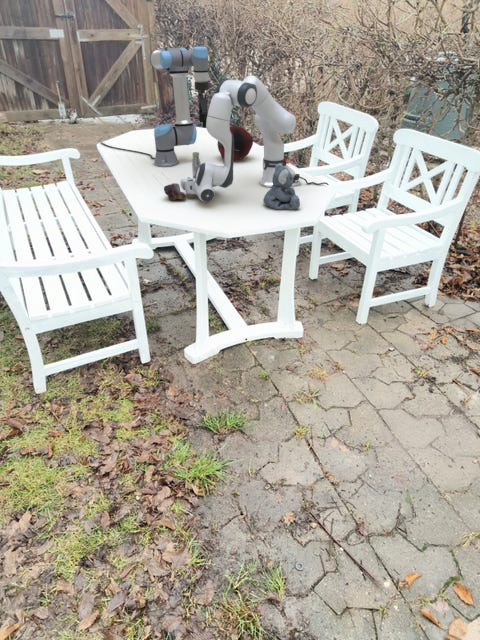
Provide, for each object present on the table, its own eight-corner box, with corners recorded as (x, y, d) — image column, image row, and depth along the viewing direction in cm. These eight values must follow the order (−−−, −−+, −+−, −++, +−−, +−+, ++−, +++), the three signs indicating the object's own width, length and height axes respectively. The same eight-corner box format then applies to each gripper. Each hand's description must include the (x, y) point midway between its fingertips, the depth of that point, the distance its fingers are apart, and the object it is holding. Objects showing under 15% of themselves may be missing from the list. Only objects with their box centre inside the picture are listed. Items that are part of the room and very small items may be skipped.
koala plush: (301, 210, 223) (303, 170, 212) (265, 211, 222) (266, 171, 211) (294, 198, 237) (297, 160, 226) (261, 199, 236) (261, 161, 225)
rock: (179, 196, 245) (162, 199, 241) (177, 180, 241) (160, 182, 237) (187, 199, 235) (169, 202, 231) (185, 182, 232) (167, 185, 228)
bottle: (203, 190, 249) (201, 153, 238) (196, 192, 247) (194, 154, 236) (199, 188, 253) (197, 151, 241) (192, 190, 250) (189, 152, 239)
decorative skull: (214, 132, 306) (214, 129, 283) (248, 124, 306) (250, 120, 282) (221, 164, 313) (221, 164, 290) (254, 156, 312) (257, 156, 289)
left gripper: (191, 78, 244) (194, 120, 256) (197, 84, 224) (199, 130, 236) (205, 77, 245) (207, 119, 257) (212, 84, 225) (213, 129, 237)
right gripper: (220, 178, 236) (215, 170, 247) (182, 181, 232) (178, 174, 243) (221, 190, 240) (215, 182, 251) (183, 193, 235) (179, 185, 246)
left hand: (203, 124), depth 246 cm, fingers open, 13 cm apart
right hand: (197, 178), depth 247 cm, fingers open, 8 cm apart
